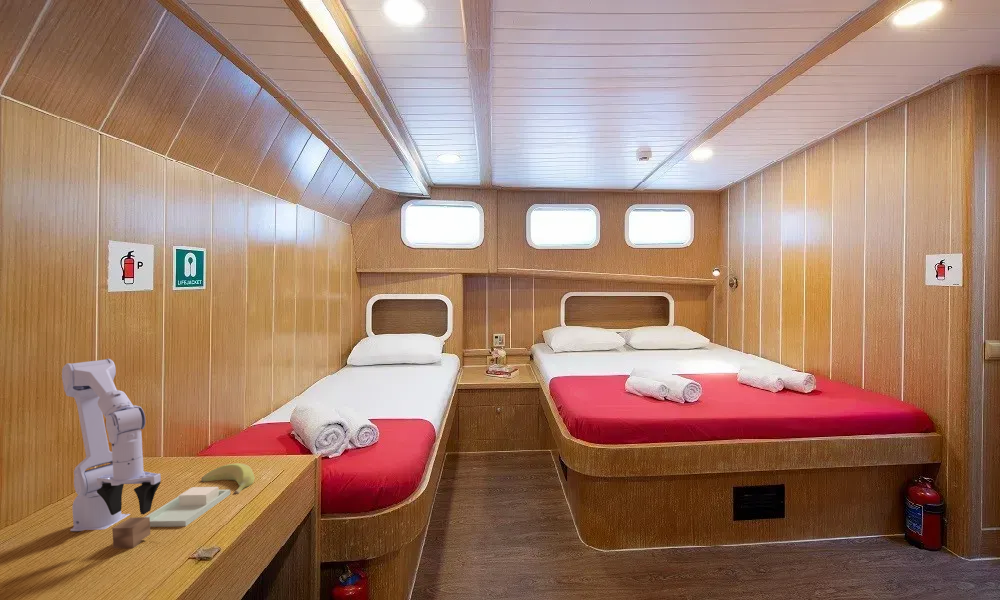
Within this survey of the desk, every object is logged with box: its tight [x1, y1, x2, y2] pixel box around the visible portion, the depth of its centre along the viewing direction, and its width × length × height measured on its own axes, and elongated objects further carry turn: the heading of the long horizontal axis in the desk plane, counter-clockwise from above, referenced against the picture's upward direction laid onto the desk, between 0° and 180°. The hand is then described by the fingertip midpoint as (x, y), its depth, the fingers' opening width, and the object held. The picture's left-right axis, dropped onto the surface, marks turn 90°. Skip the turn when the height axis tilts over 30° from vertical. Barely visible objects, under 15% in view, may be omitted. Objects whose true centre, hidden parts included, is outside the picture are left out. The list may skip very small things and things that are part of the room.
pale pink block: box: [178, 486, 220, 506], centre depth 129 cm, size 8×5×3 cm, turn 88°
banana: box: [201, 462, 256, 494], centre depth 140 cm, size 14×6×20 cm
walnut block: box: [111, 516, 151, 549], centre depth 109 cm, size 5×5×5 cm
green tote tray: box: [145, 489, 231, 528], centre depth 124 cm, size 13×18×2 cm
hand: (130, 512), depth 109 cm, fingers open, 7 cm apart
